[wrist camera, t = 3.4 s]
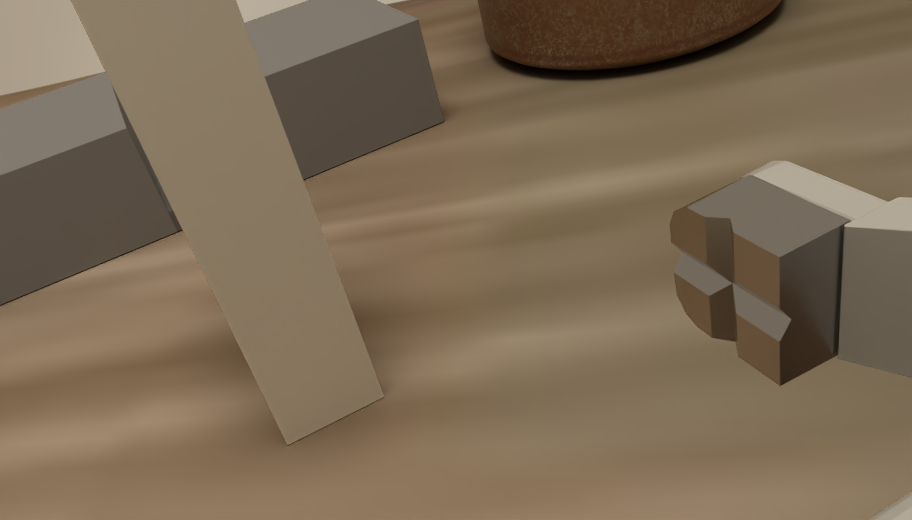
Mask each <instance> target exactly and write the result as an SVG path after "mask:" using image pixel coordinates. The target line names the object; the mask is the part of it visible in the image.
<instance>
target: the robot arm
mask: <svg viewBox="0 0 912 520" xmlns="http://www.w3.org/2000/svg"><path fill="white" fill-rule="evenodd" d="M670 233H671V243H673V244H674V245H675V246H676V247H677V248H678V249H680V250H681V251H682V252H683V253H682V255H681V257H680V259H679V262H678V264H677V266H676V269H675V271H674V277H675V284H676V292H677V296H678V298H679V300H680V302H681V304H682V306H683V308H684V310H685V312H686V314H687V315H688V317H689V318H690V319H691V320H692V321H693V322H694V324H695V325H696V326H697V327H698V328H700V329H701V330H702V331H704V332H705V333H706V334H708V335H709V336H710V337H712V338H716V339H722V340H728V341H734V342H736V347H737V352H738V357H740V358H741V359H742V360H744V361H745V362H747V363H748V364H749V365H751V366H752V367H754V368H755V369H757V370H758V371H759V372H761V373H762V374H764V375H765V376H767V377H768V378H769V379H771V380H772V381H774V382H775V383H776V384H778V385H779V386H781V385H783V384H785V383H787V382H789V381H790V380H792V379H794V378H796V377H798V376H800V375H802V374H803V373H805V372H807V371H809V370H811V369H813V368H815V367H816V366H818V365H820V364H822V363H824V362H826V361H828V360H829V359H831V358H833V357H835V356H837V355H838V359H841V360H845V361H849V362H853V363H857V364H861V365H864V366H868V367H872V368H876V369H880V370H884V371H888V372H892V373H895V374H899V375H903V376H907V377H911V378H912V198H905V197H898V198H896V199H894V200H892V201H890V202H887V201H884V200H882V199H879V198H877V197H874V196H872V195H870V194H867V193H865V192H862V191H860V190H857V189H855V188H852V187H850V186H847V185H845V184H842V183H840V182H837V181H835V180H833V179H830V178H828V177H825V176H823V175H820V174H818V173H815V172H813V171H810V170H808V169H805V168H803V167H801V166H798V165H796V164H793V163H791V162H788V161H771V162H769V163H767V164H765V165H763V166H762V167H760V168H758V169H756V170H754V171H752V172H750V173H748V174H746V175H744V176H742V177H740V179H739V180H737V181H735V182H733V183H731V184H729V185H727V186H725V187H723V188H721V189H719V190H717V191H715V192H713V193H711V194H709V195H707V196H705V197H702V198H700V199H698V200H696V201H694V202H692V203H690V204H688V205H686V206H684V207H682V208H680V209H678V210H676V211H674V212H673V215H672V219H671V222H670ZM868 520H912V491H910V492H909V493H907V494H906V495H904V496H903V497H901V498H900V499H898V500H897V501H895V502H894V503H892V504H891V505H889V506H888V507H886V508H885V509H883V510H882V511H880V512H879V513H877V514H875V515H874V516H872V517H871V518H869V519H868Z"/></svg>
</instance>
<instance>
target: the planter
mask: <svg viewBox="0 0 912 520" xmlns="http://www.w3.org/2000/svg"><path fill="white" fill-rule="evenodd" d="M780 2H781V0H478V4H479V9H480V13H481V18H482V23H483V28H484V33H485V37H486V41H487V43H488V45H489V46H490V48H491V49H492V50H493V51H494V52H495V53H497V54H498V55H500V56H501V57H503V58H506V59H508V60H511V61H513V62H516V63H519V64H523V65H527V66H532V67H538V68H546V69H558V70H576V71H590V70H608V69H618V68H626V67H633V66H639V65H645V64H650V63H655V62H659V61H664V60H668V59H672V58H676V57H679V56H682V55H686V54H689V53H692V52H695V51H698V50H701V49H703V48H706V47H708V46H711V45H713V44H716V43H719V42H721V41H723V40H726V39H728V38H730V37H732V36H735V35H737V34H739V33H741V32H743V31H744V30H746V29H748V28H750V27H751V26H753V25H755V24H756V23H758V22H759V21H760V20H762V19H763V18H764V17H766V16H767V15H768V14H770V13H771V12H772V11H773V10H774V9H775V8H776V7H777V6H778V5H779V3H780Z"/></svg>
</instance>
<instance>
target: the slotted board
mask: <svg viewBox="0 0 912 520" xmlns="http://www.w3.org/2000/svg"><path fill="white" fill-rule="evenodd" d="M245 26H246V29H247V31H248V34H249V37H250V39H251V42H252V45H253V47H254V50H255V53H256V55H257V58H258V61H259V63H260V66H261V69H262V72H263V74H264V77H265V80H266V82H267V85H268V88H269V90H270V93H271V96H272V98H273V101H274V104H275V106H276V109H277V112H278V114H279V117H280V120H281V122H282V125H283V128H284V130H285V133H286V136H287V138H288V141H289V144H290V146H291V149H292V152H293V154H294V157H295V160H296V162H297V165H298V168H299V170H300V173H301V176H302V178H303V179H306V178H308V177H311V176H313V175H315V174H318V173H320V172H323V171H325V170H328V169H330V168H332V167H335V166H337V165H340V164H342V163H344V162H347V161H349V160H352V159H354V158H357V157H359V156H361V155H364V154H366V153H369V152H371V151H373V150H376V149H378V148H381V147H383V146H386V145H388V144H390V143H393V142H395V141H398V140H400V139H402V138H405V137H407V136H410V135H412V134H415V133H417V132H419V131H422V130H424V129H427V128H429V127H431V126H434V125H436V124H439V123H441V122H444V119H443V115H442V111H441V107H440V103H439V99H438V95H437V91H436V88H435V84H434V80H433V76H432V72H431V68H430V64H429V60H428V56H427V52H426V48H425V44H424V40H423V36H422V32H421V28H420V24H419V21H418V19H416V18H414V17H412V16H410V15H408V14H405V13H403V12H401V11H399V10H397V9H394V8H392V7H390V6H388V5H385V4H383V3H381V2H379V1H377V0H308V1H305V2H302V3H300V4H297V5H294V6H291V7H288V8H286V9H283V10H280V11H277V12H274V13H271V14H269V15H266V16H263V17H260V18H257V19H254V20H251V21H249V22H246V23H245ZM180 230H182V228H181V226H180V224H179V222H178V220H177V217H176V215H175V213H174V211H173V209H172V207H171V205H170V203H169V201H168V199H167V197H166V195H165V193H164V191H163V189H162V187H161V185H160V183H159V180H158V178H157V176H156V174H155V172H154V170H153V168H152V166H151V164H150V162H149V160H148V158H147V156H146V154H145V152H144V150H143V148H142V146H141V143H140V141H139V139H138V137H137V135H136V133H135V131H134V129H133V127H132V125H131V123H130V121H129V119H128V117H127V115H126V113H125V111H124V109H123V106H122V104H121V102H120V100H119V98H118V96H117V94H116V92H115V90H114V88H113V86H112V84H111V82H110V80H109V78H108V76H107V74H106V72H104V73H101V74H99V75H96V76H93V77H90V78H87V79H84V80H82V81H79V82H76V83H73V84H70V85H67V86H65V87H62V88H59V89H56V90H53V91H50V92H48V93H45V94H42V95H39V96H36V97H33V98H31V99H28V100H25V101H22V102H19V103H16V104H14V105H11V106H8V107H5V108H2V109H0V305H1V304H4V303H6V302H8V301H11V300H13V299H16V298H18V297H20V296H23V295H25V294H28V293H30V292H33V291H35V290H37V289H40V288H42V287H45V286H47V285H50V284H52V283H54V282H57V281H59V280H62V279H64V278H66V277H69V276H71V275H74V274H76V273H79V272H81V271H83V270H86V269H88V268H91V267H93V266H95V265H98V264H100V263H103V262H105V261H108V260H110V259H112V258H115V257H117V256H120V255H122V254H124V253H127V252H129V251H132V250H134V249H137V248H139V247H141V246H144V245H146V244H149V243H151V242H153V241H156V240H158V239H161V238H163V237H166V236H168V235H170V234H173V233H175V232H178V231H180Z"/></svg>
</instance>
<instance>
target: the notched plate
mask: <svg viewBox="0 0 912 520" xmlns="http://www.w3.org/2000/svg"><path fill="white" fill-rule="evenodd" d="M71 2H72V4H73V6H74V8H75V10H76V12H77V14H78V16H79V18H80V20H81V22H82V24H83V26H84V28H85V30H86V32H87V35H88V37H89V39H90V41H91V43H92V45H93V47H94V49H95V51H96V53H97V55H98V57H99V59H100V61H101V63H102V65H103V67H104V69H105V72H106V74H107V76H108V78H109V80H110V82H111V84H112V86H113V88H114V90H115V92H116V94H117V96H118V98H119V100H120V102H121V104H122V106H123V109H124V111H125V113H126V115H127V117H128V119H129V121H130V123H131V125H132V127H133V129H134V131H135V133H136V135H137V137H138V139H139V141H140V143H141V146H142V148H143V150H144V152H145V154H146V156H147V158H148V160H149V162H150V164H151V166H152V168H153V170H154V172H155V174H156V176H157V178H158V180H159V183H160V185H161V187H162V189H163V191H164V193H165V195H166V197H167V199H168V201H169V203H170V205H171V207H172V209H173V211H174V213H175V215H176V217H177V220H178V222H179V224H180V226H181V228H182V230H183V232H184V234H185V236H186V238H187V240H188V242H189V244H190V246H191V248H192V250H193V252H194V254H195V256H196V259H197V261H198V263H199V265H200V267H201V269H202V271H203V273H204V275H205V277H206V279H207V281H208V283H209V285H210V287H211V289H212V291H213V293H214V296H215V298H216V300H217V302H218V304H219V306H220V308H221V310H222V312H223V314H224V316H225V318H226V320H227V322H228V324H229V326H230V328H231V330H232V333H233V335H234V337H235V339H236V341H237V343H238V345H239V347H240V349H241V351H242V353H243V355H244V357H245V359H246V361H247V363H248V365H249V367H250V370H251V372H252V374H253V376H254V378H255V380H256V382H257V384H258V386H259V388H260V390H261V392H262V394H263V396H264V398H265V400H266V402H267V404H268V407H269V409H270V411H271V413H272V415H273V417H274V419H275V421H276V423H277V425H278V427H279V429H280V431H281V433H282V435H283V437H284V439H285V441H286V444H287V445H289V444H291V443H293V442H295V441H297V440H299V439H301V438H303V437H305V436H307V435H309V434H311V433H313V432H315V431H317V430H319V429H321V428H323V427H325V426H327V425H329V424H331V423H333V422H335V421H337V420H339V419H341V418H343V417H345V416H347V415H349V414H351V413H353V412H355V411H357V410H359V409H361V408H363V407H365V406H367V405H369V404H371V403H373V402H375V401H377V400H379V399H381V398H383V397H384V395H383V392H382V389H381V387H380V384H379V381H378V379H377V376H376V373H375V371H374V368H373V365H372V363H371V360H370V357H369V355H368V352H367V349H366V347H365V344H364V341H363V339H362V336H361V333H360V330H359V328H358V325H357V322H356V320H355V317H354V314H353V312H352V309H351V306H350V304H349V301H348V298H347V296H346V293H345V290H344V288H343V285H342V282H341V280H340V277H339V274H338V272H337V269H336V266H335V264H334V261H333V258H332V256H331V253H330V250H329V248H328V245H327V242H326V240H325V237H324V234H323V232H322V229H321V226H320V224H319V221H318V218H317V216H316V213H315V210H314V208H313V205H312V202H311V200H310V197H309V194H308V192H307V189H306V186H305V184H304V181H303V178H302V176H301V173H300V170H299V168H298V165H297V162H296V160H295V157H294V154H293V152H292V149H291V146H290V144H289V141H288V138H287V136H286V133H285V130H284V128H283V125H282V122H281V120H280V117H279V114H278V112H277V109H276V106H275V104H274V101H273V98H272V96H271V93H270V90H269V88H268V85H267V82H266V80H265V77H264V74H263V72H262V69H261V66H260V63H259V61H258V58H257V55H256V53H255V50H254V47H253V45H252V42H251V39H250V37H249V34H248V31H247V29H246V26H245V23H244V21H243V18H242V16H241V13H240V10H239V7H238V5H237V2H236V0H71Z"/></svg>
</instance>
